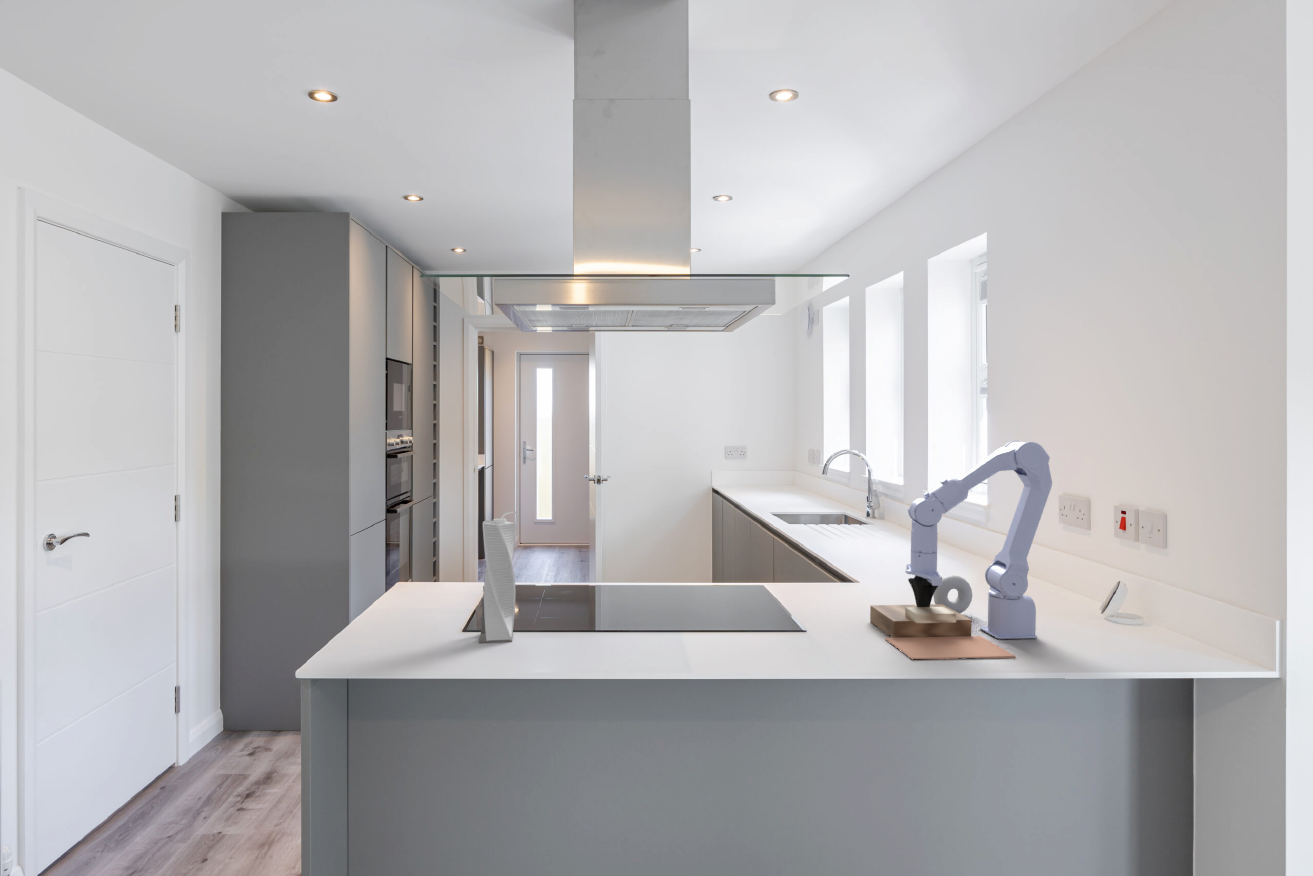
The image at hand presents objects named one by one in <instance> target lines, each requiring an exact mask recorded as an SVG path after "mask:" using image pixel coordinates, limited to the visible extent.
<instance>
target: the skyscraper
mask: <svg viewBox="0 0 1313 876" xmlns="http://www.w3.org/2000/svg"><path fill="white" fill-rule="evenodd" d="M509 514H510V515H511V514H515V515H516V517H515V518H516V519H515V521H514V522H511V521H507V518H505V516H506V515H509ZM519 516H520V513H519V512H518V511H513V510H512V511H511V510H510V511H506V512H504V513H503V515H501V518H498V517H497V518H493V519H492V520H484V521H482V533H483V534H482V535H483V548H484V556H485V562H486V564H485V565H486V566H485V572H484V579H483V580H484V584H483V589H482V591H483V593H482V594H483V595H482V597H481V608H482V609H481V617H480V623H481V629H480V634H479V640H478V644H488V643H489V644H490V643H491V644H492V643H493V644H494V643H512V642H513V632H514V625H515V615H516V614H515V611H516V578H515V570H514V565H513V558H514V551H515V546H516V536H517V526H518V525H517V523H518V520H519Z"/></svg>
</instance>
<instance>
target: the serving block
mask: <svg viewBox="0 0 1313 876" xmlns="http://www.w3.org/2000/svg"><path fill="white" fill-rule="evenodd" d="M905 607H917V605H916V604H883V605H881V604H875V605H874V604H872V605H871V604H870V610H869V611H870V612H869V613H870V614H869V615H870V617H869V619H870V620H869V621H870V623H871V624H872V625H874V626H875V627H876V626H877V627H876V628H878V629H879V628H880V629H881V630H880V629H879V630H880V631H882V632H883V631H884V632H885V633H884V632H883V633H884V634H886V633H887V634H888V635H887V634H886V635H887V636H889V635H890V636H891V637H892V638H904V637H958V636H972V625H973V624H972V622H973V621H972V620H973V619H971V618H969V617H968V616H966V615H964V614H962V613H958V612H956V611H954V610H952V609H951V608H949V607H947V606H945V605H943V604H935V603H934V604H930V607H945V608H947V609H949V610H950V611H952V612H954V613H956V623H915V622H914V621H912V620H911V619H909V618H907V617H906V616H905ZM890 636H889V637H890ZM891 637H890V638H891Z"/></svg>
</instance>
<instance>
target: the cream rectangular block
mask: <svg viewBox="0 0 1313 876" xmlns="http://www.w3.org/2000/svg"><path fill="white" fill-rule="evenodd" d="M905 616H906V617H907V618H909V619H911V620H912V621H914V622H915V623H956V613H954V612H952V611H950V610H949V609H947V608H945V607H905Z"/></svg>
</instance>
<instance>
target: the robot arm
mask: <svg viewBox="0 0 1313 876" xmlns="http://www.w3.org/2000/svg"><path fill="white" fill-rule="evenodd" d="M1050 458H1051V457H1050V455H1049V454H1048V453H1047V451H1046V450H1045V449H1044V447H1043V446H1042V445H1041V444H1039V443H1038V442H1033V441H1019V440H1012V441H1009V442H1007V443H1006V444H1005V445H1004V446H1001V447H1000V448H997V449H996V450H995V451H994V452H992V453H991V454H989V455H988V456H987V457H986V458H984V459H983V460H982V461H980V462H979V463H978V464H977V465H975V466H973V468H971V469H970V470H969V471H967V472H966V473H965V474H964V475H962V476H961V477H959V478H956V477H950V478H949V479H947V478H944V479H942V480H941V481H940V484H939V486H937V487H935V488H934V489H933V490H931V491H929V492H928V491H925V493H924V494H923V496H924V497H922V498H920V497H919V498H916V499H915V500H913V501H912V503H911V504H910V506H909V509H907V513H908V516H909V518H910V519H911V531H910V533H911V534H910V563H908V564H906V569H905V574H908V575H913V576H914V577H910V578H908V579H907V580H908V584H909V585H910V587H911V590H912V591H913V595H914V596H913V597H914V600H915V605H917V607H930V604H931V603H932V600H933V598H934V596H933V594H934V592H935V590H936V589H937V587H938V586H942V579H943V576H941V575H940V573H939V571H938V523H939V522H940V521H941V519H942V515H945V514H946V513H947V512H950V511H951V510H952V509H953V508H955V507H956V506H958V505H960V504H961V503H962V502H964V501H965V500H967V498H968V496H969V491H970V490H971V489H974V488H975V487H976V486H978V485H979V484H981V483H983V482H985V480H987V479H990V478H991V477H992V476H994V475H995V474H997V473H999V472H1001V471H1002V472H1003V471H1004V472H1005V471H1014V472H1015V473H1016V475H1017V476H1018V478H1019V479H1020V481H1021V482H1022V484H1023V488H1022V491H1021V494H1020V497H1019V500H1018V503H1017V506H1016V509H1015V511H1014V514H1013V518H1012V520H1011V523H1010V525H1009V529H1008V532H1007V535H1006V538H1005V541H1004V543H1003V547H1002V549H1001V550H1000V551H999V552H998V553H997V554H996V555H995V556H994V559H993V562H992V563H991V564H990V565H989V566H988V567H987V568H986V570H985V572H984V573H985V574H984V577H985V581H986V583H987V585H988V586H989V590H988V593H987V594H988V599H987V600H988V602H987V603H988V604H987V605H988V607H987V626H980V627H979V630H981V631H982V630H983V632H984V631H985V633H986V634H988V635H990V636H991V635H992V637H993V636H994V638H995V639H999V640H1006V639H1007V640H1009V639H1018V640H1019V639H1038V635H1036V630H1037V626H1036V625H1037V624H1036V623H1037V617H1036V616H1037V607H1036V604H1035V602H1034V601H1035V600H1033V598H1032V597H1031V596H1030V595H1028V594H1025V593H1026V592H1027V590H1028V587H1029V581H1028V574H1029V571H1030V567H1029V563H1028V556H1029V553H1030V550H1031V546H1032V545H1033V541H1034V538H1035V536H1036V533H1037V530H1038V527H1039V523H1040V522H1041V518H1042V515H1043V512H1044V510H1045V507H1046V504H1047V501H1048V498H1049V495H1050V494H1051V489H1052V486H1053V480H1052V473H1051V470H1050V464H1049V462H1050ZM1024 594H1025V595H1024Z"/></svg>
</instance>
